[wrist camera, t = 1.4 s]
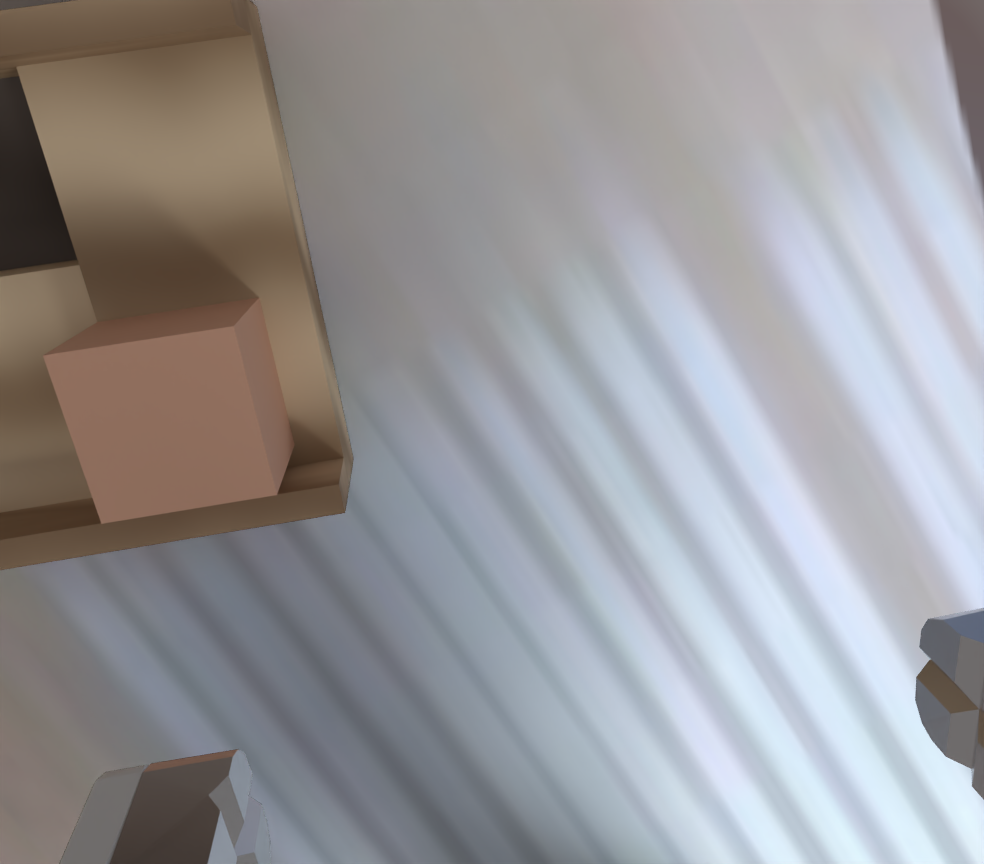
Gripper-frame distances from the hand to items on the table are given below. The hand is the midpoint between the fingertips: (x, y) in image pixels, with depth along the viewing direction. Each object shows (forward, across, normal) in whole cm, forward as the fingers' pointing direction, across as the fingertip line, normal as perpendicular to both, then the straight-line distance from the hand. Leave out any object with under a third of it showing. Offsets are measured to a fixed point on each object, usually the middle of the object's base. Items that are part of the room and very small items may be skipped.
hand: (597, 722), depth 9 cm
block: (+18, +8, 0) cm, 20 cm away
